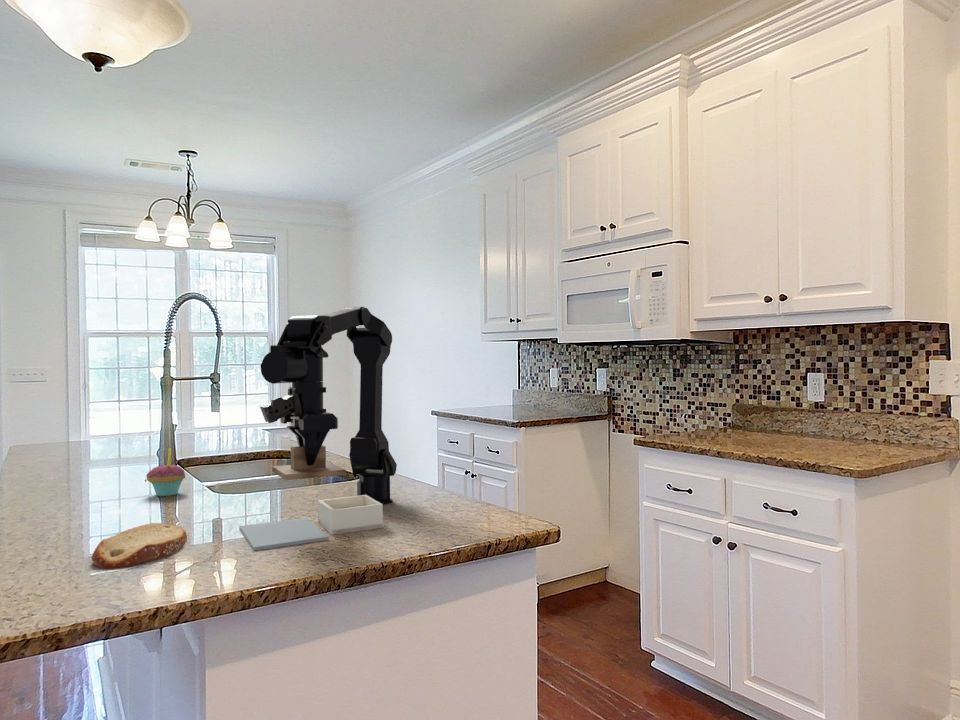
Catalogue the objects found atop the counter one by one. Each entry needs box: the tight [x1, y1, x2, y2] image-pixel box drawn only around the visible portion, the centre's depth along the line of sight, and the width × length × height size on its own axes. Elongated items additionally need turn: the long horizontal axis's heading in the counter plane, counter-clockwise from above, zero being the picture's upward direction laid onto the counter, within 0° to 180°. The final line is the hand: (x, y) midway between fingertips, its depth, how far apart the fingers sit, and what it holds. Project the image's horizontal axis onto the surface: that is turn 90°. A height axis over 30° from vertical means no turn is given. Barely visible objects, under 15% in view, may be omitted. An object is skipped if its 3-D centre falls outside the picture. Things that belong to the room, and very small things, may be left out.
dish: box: [317, 495, 384, 536], centre depth 132 cm, size 10×10×4 cm
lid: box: [271, 444, 347, 481], centre depth 128 cm, size 11×11×5 cm
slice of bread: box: [91, 522, 188, 570], centre depth 118 cm, size 18×18×4 cm
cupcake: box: [145, 445, 186, 497], centre depth 163 cm, size 9×8×12 cm
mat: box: [238, 517, 329, 552], centre depth 126 cm, size 13×16×1 cm
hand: (308, 464), depth 128 cm, fingers closed on lid, 2 cm apart
